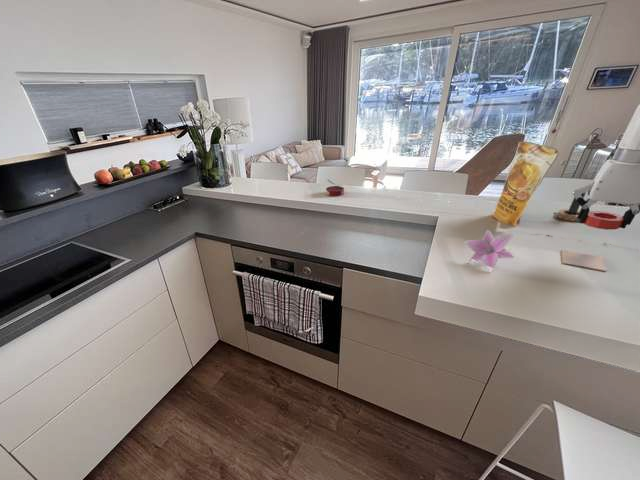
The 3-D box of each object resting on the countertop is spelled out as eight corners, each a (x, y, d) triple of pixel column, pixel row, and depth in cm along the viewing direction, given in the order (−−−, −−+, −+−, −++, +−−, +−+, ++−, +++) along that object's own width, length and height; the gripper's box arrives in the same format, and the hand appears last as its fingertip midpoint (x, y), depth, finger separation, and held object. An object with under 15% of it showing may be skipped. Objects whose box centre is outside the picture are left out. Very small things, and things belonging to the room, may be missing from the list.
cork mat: (601, 257, 85) (602, 256, 84) (605, 271, 79) (606, 270, 79) (560, 251, 90) (561, 250, 89) (562, 263, 84) (562, 262, 84)
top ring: (617, 222, 79) (621, 213, 77) (621, 231, 74) (627, 222, 73) (581, 217, 83) (585, 209, 82) (583, 226, 78) (587, 218, 77)
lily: (458, 255, 95) (458, 237, 88) (495, 240, 92) (499, 220, 85) (480, 283, 87) (482, 265, 80) (522, 267, 84) (528, 248, 77)
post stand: (583, 218, 108) (597, 189, 102) (586, 227, 102) (600, 196, 96) (552, 215, 113) (563, 187, 107) (552, 222, 107) (565, 194, 101)
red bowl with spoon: (328, 199, 166) (329, 182, 166) (345, 198, 162) (346, 181, 162) (322, 196, 156) (323, 177, 156) (341, 194, 152) (341, 176, 151)
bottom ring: (582, 216, 107) (584, 210, 106) (583, 222, 102) (586, 217, 101) (556, 213, 111) (558, 208, 110) (557, 219, 106) (559, 214, 105)
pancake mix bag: (505, 212, 119) (529, 139, 105) (531, 231, 103) (563, 148, 89) (487, 212, 120) (508, 141, 106) (509, 231, 104) (538, 149, 90)
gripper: (687, 154, 67) (644, 224, 76) (585, 152, 77) (557, 214, 86) (699, 161, 62) (652, 235, 71) (588, 157, 72) (558, 223, 81)
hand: (600, 223), depth 78 cm, fingers closed on top ring, 7 cm apart
